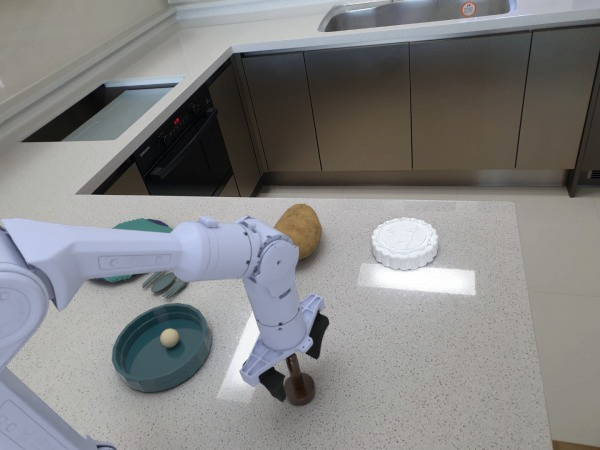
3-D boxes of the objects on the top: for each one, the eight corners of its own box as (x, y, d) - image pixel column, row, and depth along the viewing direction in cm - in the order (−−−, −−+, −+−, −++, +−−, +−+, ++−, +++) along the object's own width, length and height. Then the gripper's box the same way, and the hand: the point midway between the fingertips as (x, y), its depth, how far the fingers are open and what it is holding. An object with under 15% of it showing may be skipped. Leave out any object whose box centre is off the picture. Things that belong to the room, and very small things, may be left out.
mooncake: (385, 224, 92) (384, 210, 90) (445, 235, 87) (446, 220, 85) (362, 262, 85) (360, 248, 83) (426, 277, 79) (426, 262, 77)
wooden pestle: (303, 411, 63) (292, 373, 58) (279, 396, 65) (266, 358, 60) (322, 387, 65) (313, 348, 60) (298, 373, 68) (287, 335, 63)
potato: (330, 227, 95) (325, 195, 90) (317, 274, 84) (310, 241, 79) (285, 226, 98) (277, 195, 93) (267, 272, 87) (258, 240, 82)
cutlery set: (135, 217, 110) (132, 209, 109) (227, 249, 95) (224, 240, 93) (64, 269, 98) (59, 261, 97) (155, 316, 82) (150, 307, 81)
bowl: (158, 411, 67) (150, 398, 65) (102, 365, 75) (93, 352, 73) (231, 338, 75) (225, 324, 73) (173, 305, 84) (166, 291, 82)
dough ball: (171, 354, 74) (165, 342, 72) (160, 346, 76) (153, 334, 74) (185, 341, 76) (179, 329, 74) (174, 334, 78) (168, 322, 76)
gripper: (261, 367, 49) (285, 433, 57) (338, 281, 57) (349, 350, 65) (216, 339, 53) (244, 405, 61) (294, 263, 61) (309, 330, 69)
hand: (296, 375), depth 63 cm, fingers open, 7 cm apart
